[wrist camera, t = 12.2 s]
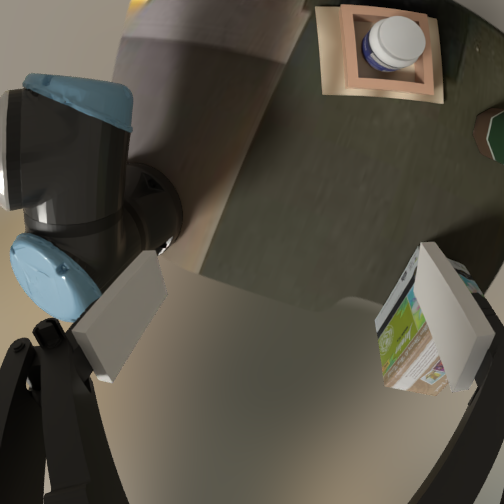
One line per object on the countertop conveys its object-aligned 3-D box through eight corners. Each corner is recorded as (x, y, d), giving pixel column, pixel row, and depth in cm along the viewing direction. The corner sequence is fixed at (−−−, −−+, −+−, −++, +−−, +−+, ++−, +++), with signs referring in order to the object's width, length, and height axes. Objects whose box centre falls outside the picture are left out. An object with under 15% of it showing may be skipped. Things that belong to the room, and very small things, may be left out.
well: (345, 88, 33) (348, 87, 30) (338, 12, 28) (340, 4, 25) (424, 95, 31) (434, 95, 28) (418, 20, 26) (426, 14, 23)
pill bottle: (371, 22, 28) (388, 0, 19) (410, 47, 28) (439, 33, 20) (351, 57, 31) (365, 42, 22) (392, 81, 31) (417, 76, 23)
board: (322, 94, 35) (322, 94, 34) (315, 9, 30) (315, 6, 29) (440, 103, 32) (443, 103, 31) (433, 20, 27) (436, 18, 25)
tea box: (415, 243, 41) (448, 302, 28) (463, 263, 41) (503, 321, 28) (372, 320, 49) (383, 389, 36) (419, 334, 48) (438, 398, 35)
